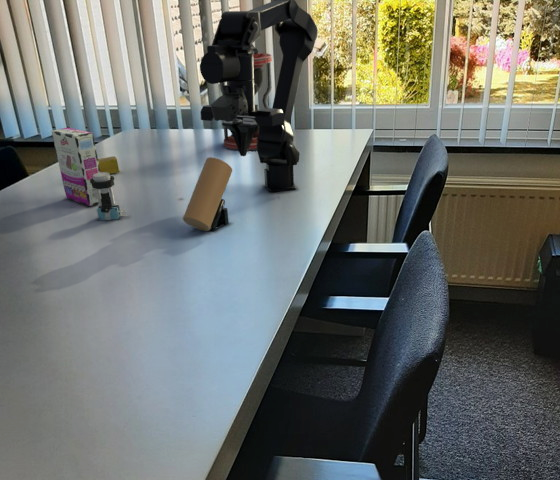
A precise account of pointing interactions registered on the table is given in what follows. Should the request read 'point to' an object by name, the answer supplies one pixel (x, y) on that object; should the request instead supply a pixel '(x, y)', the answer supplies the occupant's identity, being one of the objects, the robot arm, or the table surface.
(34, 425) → the table surface
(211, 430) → the table surface
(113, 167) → the medication box
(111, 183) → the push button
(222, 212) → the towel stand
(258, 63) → the hourglass
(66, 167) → the candy bar box
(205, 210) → the paper towel roll
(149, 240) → the table surface
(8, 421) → the table surface
